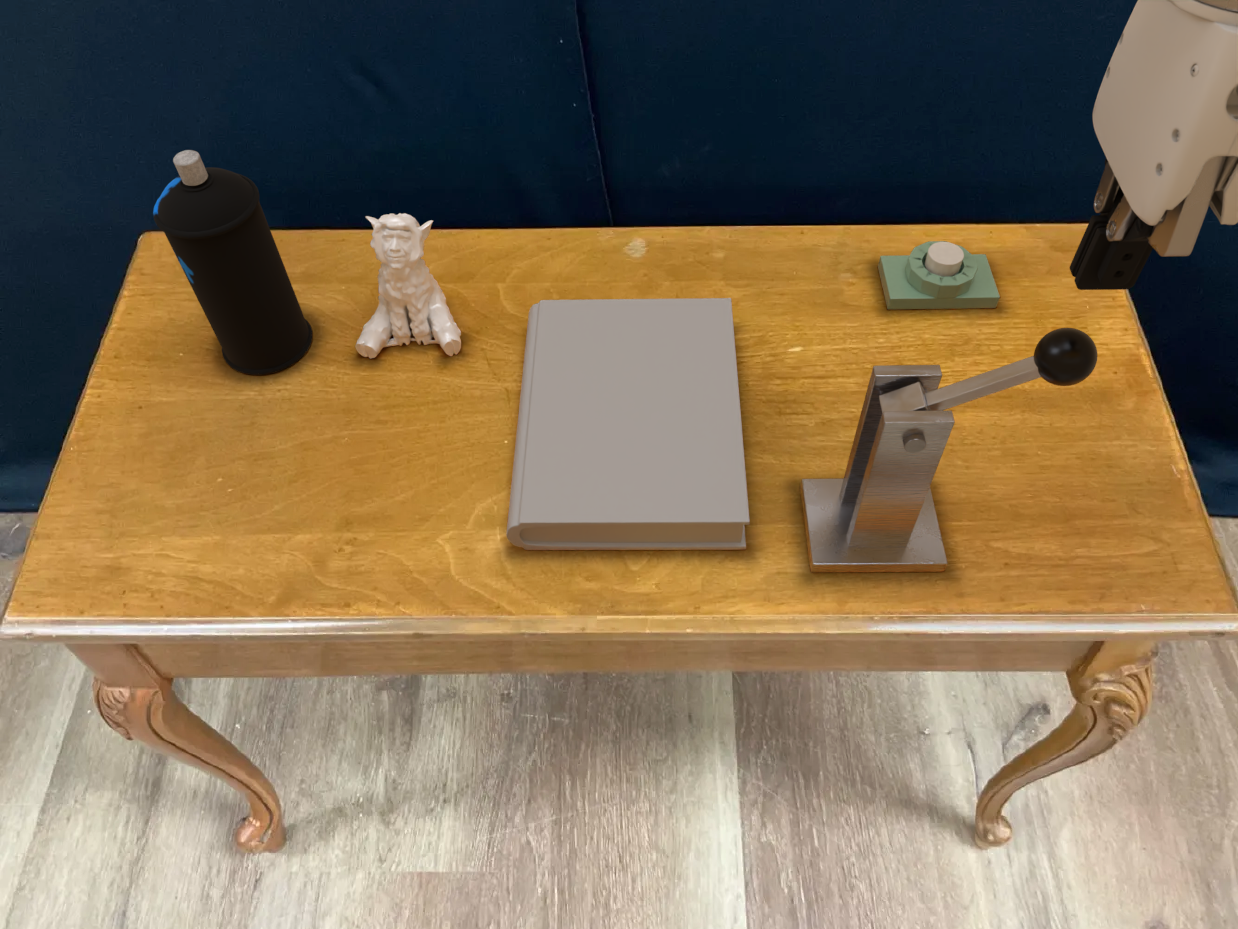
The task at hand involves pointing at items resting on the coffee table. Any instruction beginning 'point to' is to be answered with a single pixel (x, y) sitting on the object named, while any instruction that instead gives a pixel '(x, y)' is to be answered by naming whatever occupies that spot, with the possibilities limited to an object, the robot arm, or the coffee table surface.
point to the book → (629, 428)
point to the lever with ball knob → (1007, 374)
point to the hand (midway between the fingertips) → (1099, 279)
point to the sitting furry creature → (406, 291)
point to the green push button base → (936, 282)
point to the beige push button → (944, 259)
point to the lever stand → (882, 487)
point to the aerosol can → (233, 266)
